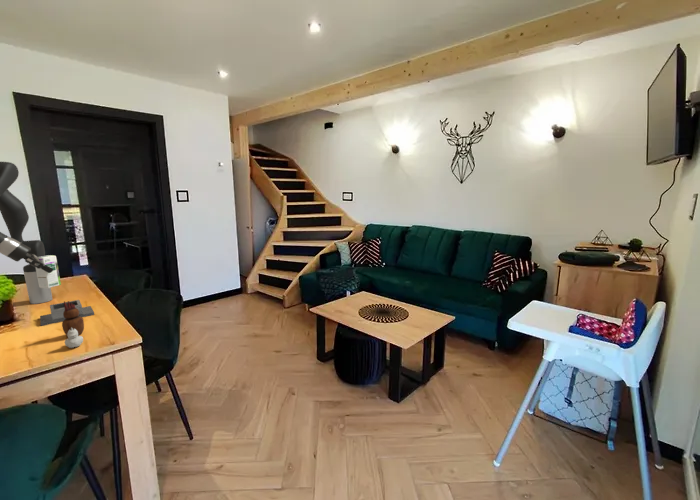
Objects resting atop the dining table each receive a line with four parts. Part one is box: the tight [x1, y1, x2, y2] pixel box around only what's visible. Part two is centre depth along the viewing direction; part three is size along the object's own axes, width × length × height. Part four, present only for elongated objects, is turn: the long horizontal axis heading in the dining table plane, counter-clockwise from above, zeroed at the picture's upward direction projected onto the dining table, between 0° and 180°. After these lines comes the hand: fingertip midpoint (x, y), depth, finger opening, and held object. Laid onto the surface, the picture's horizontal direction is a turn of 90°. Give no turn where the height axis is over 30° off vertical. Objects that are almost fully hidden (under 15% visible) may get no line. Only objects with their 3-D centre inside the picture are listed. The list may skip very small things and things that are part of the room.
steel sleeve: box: [39, 299, 95, 327], centre depth 159 cm, size 13×19×6 cm
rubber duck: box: [64, 327, 84, 349], centre depth 128 cm, size 5×7×8 cm
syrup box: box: [36, 254, 62, 288], centre depth 159 cm, size 6×6×14 cm
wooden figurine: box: [61, 301, 85, 337], centre depth 137 cm, size 7×6×15 cm
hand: (51, 270), depth 160 cm, fingers closed on syrup box, 7 cm apart
